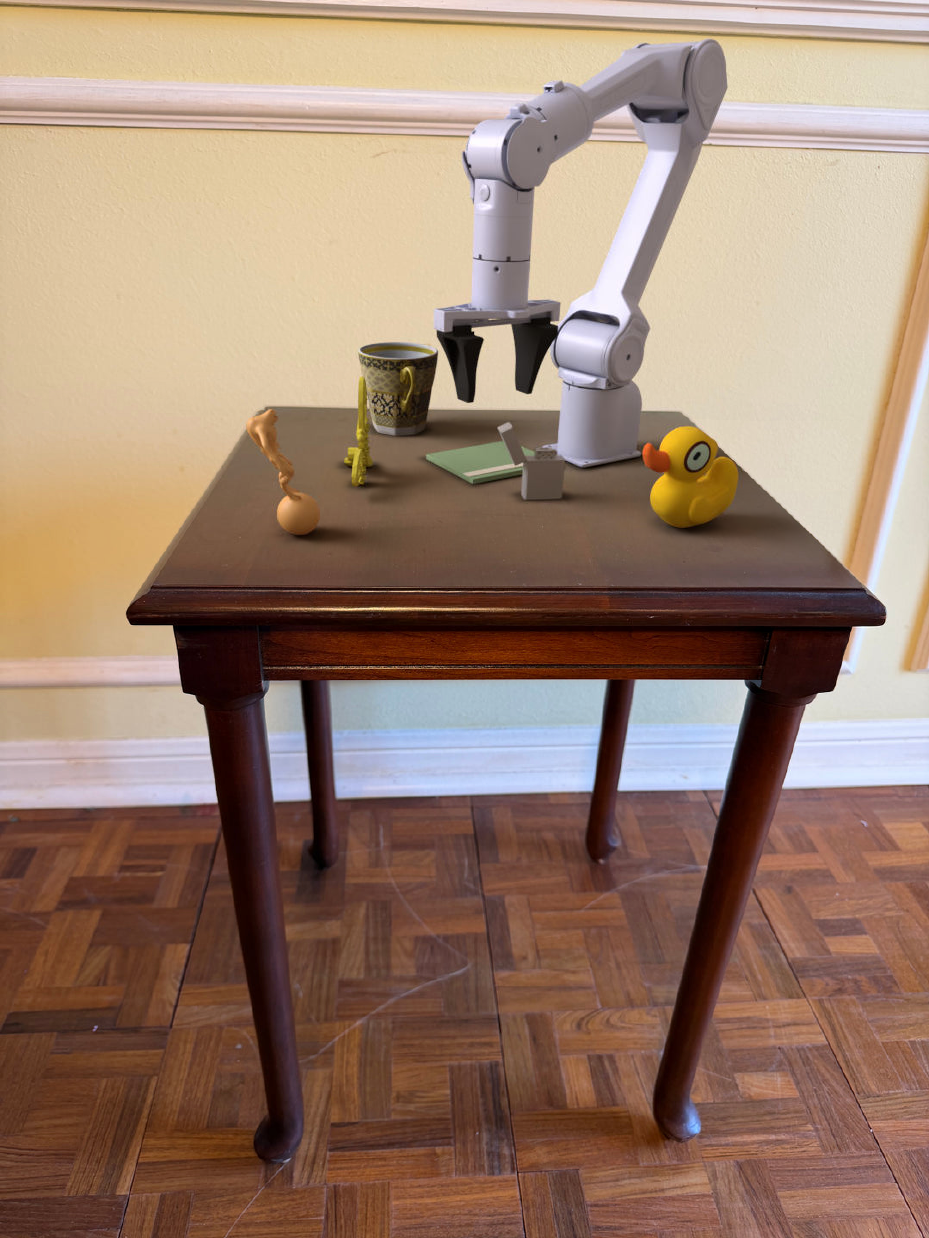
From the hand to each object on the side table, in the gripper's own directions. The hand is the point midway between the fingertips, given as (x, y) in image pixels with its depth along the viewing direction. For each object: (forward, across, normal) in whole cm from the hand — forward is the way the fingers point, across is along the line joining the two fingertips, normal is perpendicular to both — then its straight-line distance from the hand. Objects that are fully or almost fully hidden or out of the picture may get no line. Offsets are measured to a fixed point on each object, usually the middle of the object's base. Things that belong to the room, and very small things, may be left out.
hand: (495, 396), depth 93 cm
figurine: (+10, -25, -2) cm, 27 cm away
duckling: (+10, +10, -20) cm, 24 cm away
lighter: (+10, +1, -6) cm, 11 cm away
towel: (+10, +4, +5) cm, 11 cm away
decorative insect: (+10, -13, +7) cm, 18 cm away
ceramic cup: (+10, +1, +21) cm, 23 cm away
